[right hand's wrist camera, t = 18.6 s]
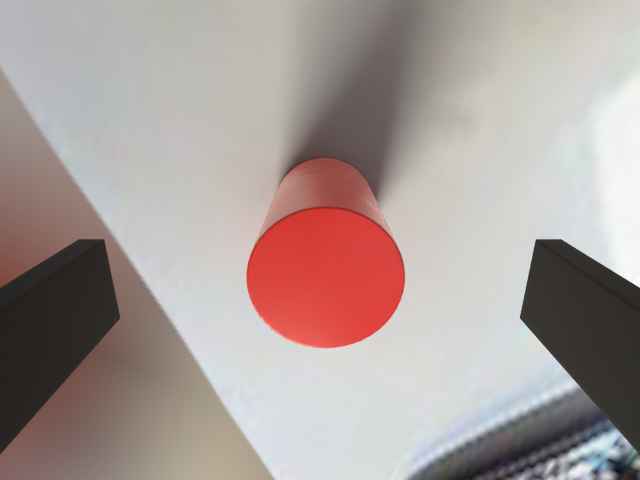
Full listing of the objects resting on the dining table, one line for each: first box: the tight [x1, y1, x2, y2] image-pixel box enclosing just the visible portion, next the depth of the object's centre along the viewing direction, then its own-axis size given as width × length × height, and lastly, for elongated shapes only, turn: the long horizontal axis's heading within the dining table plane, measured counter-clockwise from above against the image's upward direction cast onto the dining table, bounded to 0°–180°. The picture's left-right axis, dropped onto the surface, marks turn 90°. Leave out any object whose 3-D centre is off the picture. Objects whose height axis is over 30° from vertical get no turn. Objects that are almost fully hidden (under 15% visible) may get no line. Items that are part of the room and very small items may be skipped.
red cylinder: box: [247, 158, 405, 348], centre depth 15 cm, size 5×5×8 cm
